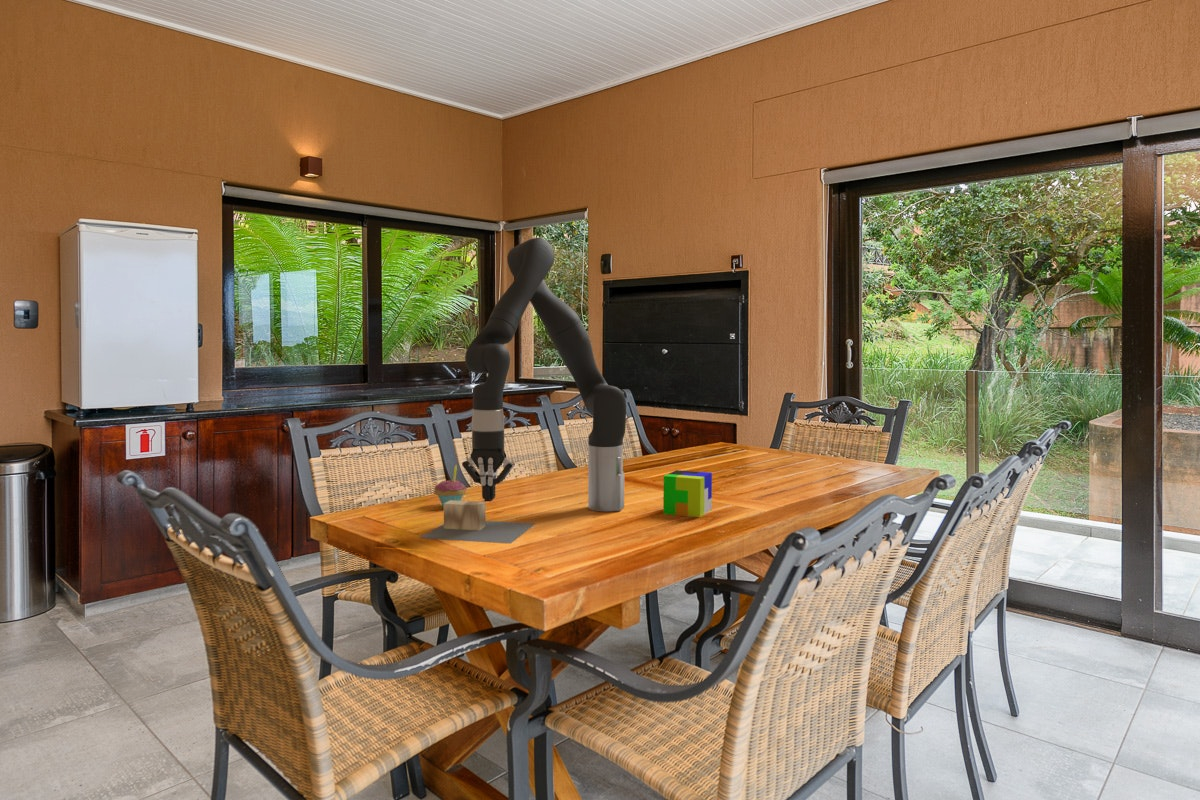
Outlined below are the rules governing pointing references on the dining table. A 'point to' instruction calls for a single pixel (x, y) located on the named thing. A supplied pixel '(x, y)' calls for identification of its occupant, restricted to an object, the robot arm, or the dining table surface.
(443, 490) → the cupcake
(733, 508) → the dining table surface
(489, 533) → the mat
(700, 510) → the puzzle toy
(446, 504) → the block
